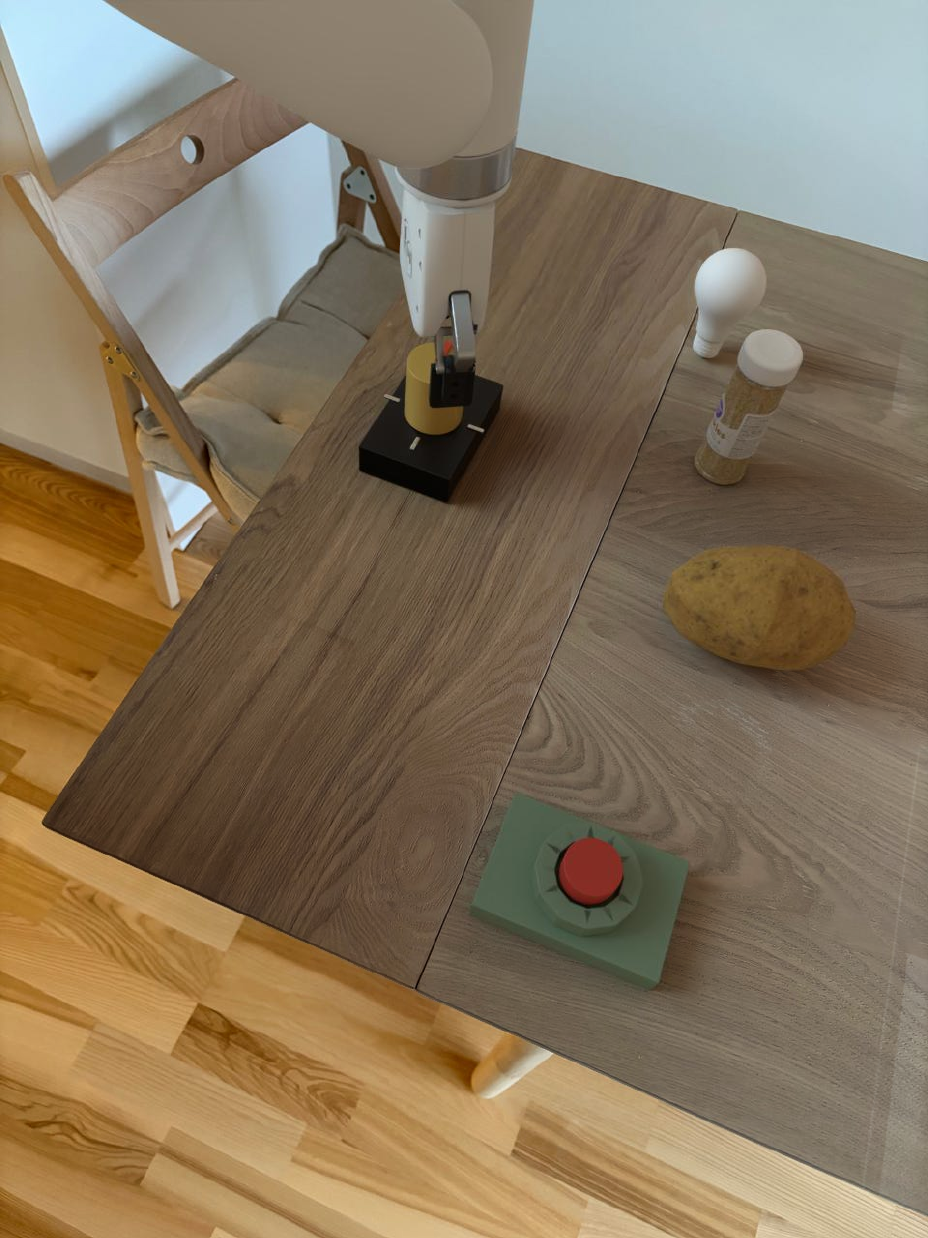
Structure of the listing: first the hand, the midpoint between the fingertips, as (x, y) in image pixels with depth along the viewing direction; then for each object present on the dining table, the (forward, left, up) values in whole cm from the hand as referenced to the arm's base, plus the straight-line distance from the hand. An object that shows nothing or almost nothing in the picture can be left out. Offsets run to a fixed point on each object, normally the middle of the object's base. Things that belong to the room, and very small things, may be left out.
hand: (440, 359), depth 74 cm
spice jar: (+24, -6, -9) cm, 27 cm away
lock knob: (0, 0, -6) cm, 6 cm away
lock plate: (0, 0, -9) cm, 9 cm away
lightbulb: (+27, +8, -9) cm, 30 cm away
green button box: (+3, -40, -9) cm, 41 cm away
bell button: (+3, -40, -5) cm, 41 cm away
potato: (+20, -23, -9) cm, 32 cm away
